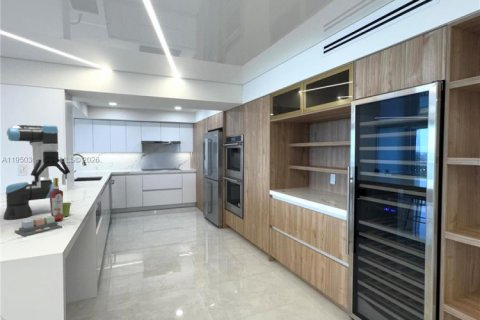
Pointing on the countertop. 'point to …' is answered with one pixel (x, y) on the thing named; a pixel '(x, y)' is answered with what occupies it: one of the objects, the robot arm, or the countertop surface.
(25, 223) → the key bluegrey
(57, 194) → the liquor
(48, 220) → the key sage
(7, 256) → the countertop surface
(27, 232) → the keypad
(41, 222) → the key terracotta
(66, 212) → the plant pot
